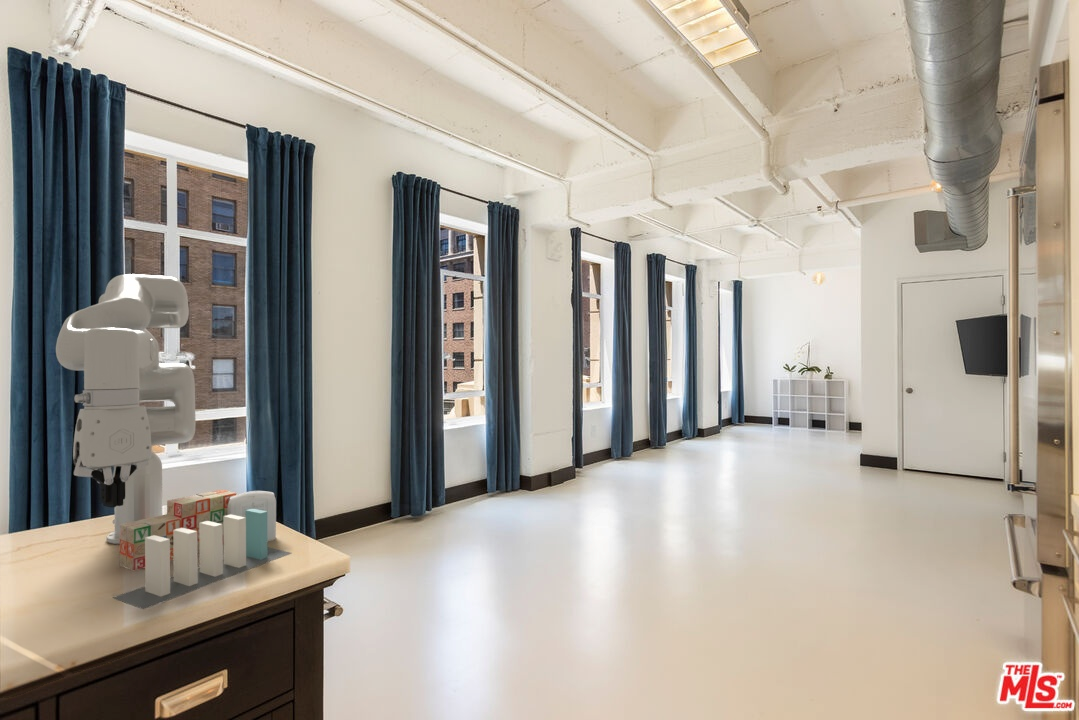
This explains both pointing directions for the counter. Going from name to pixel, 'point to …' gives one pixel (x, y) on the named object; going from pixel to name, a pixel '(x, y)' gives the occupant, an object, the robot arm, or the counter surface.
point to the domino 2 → (185, 556)
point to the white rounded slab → (255, 507)
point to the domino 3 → (211, 548)
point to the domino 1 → (157, 565)
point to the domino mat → (176, 589)
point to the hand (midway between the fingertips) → (113, 505)
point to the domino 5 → (256, 533)
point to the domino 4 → (234, 540)
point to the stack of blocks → (171, 524)
